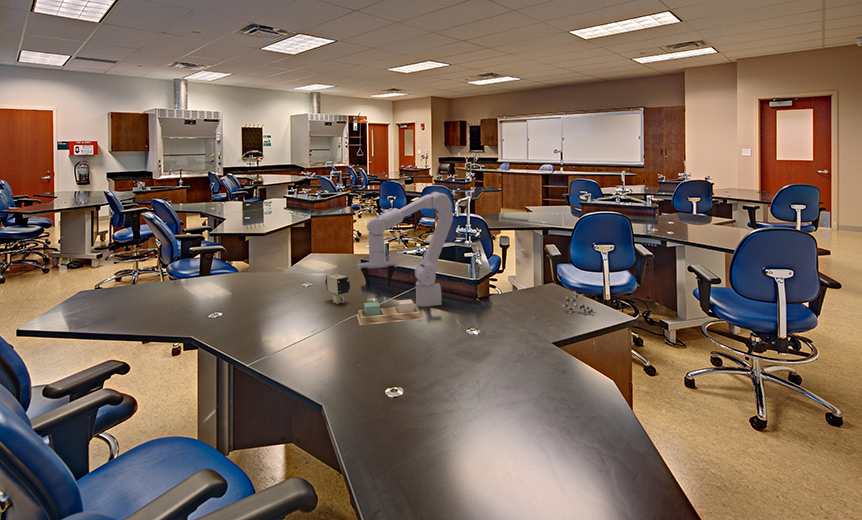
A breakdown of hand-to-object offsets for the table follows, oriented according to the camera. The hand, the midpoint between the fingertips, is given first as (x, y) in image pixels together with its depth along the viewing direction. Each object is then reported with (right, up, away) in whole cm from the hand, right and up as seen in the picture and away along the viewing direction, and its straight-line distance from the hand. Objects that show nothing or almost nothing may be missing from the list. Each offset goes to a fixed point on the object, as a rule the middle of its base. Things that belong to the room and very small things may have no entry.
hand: (378, 286), depth 187 cm
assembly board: (+5, -11, -9) cm, 15 cm away
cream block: (+11, -10, -8) cm, 17 cm away
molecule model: (+74, -10, -5) cm, 74 cm away
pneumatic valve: (-17, -7, +14) cm, 23 cm away
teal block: (-1, -11, -10) cm, 15 cm away
